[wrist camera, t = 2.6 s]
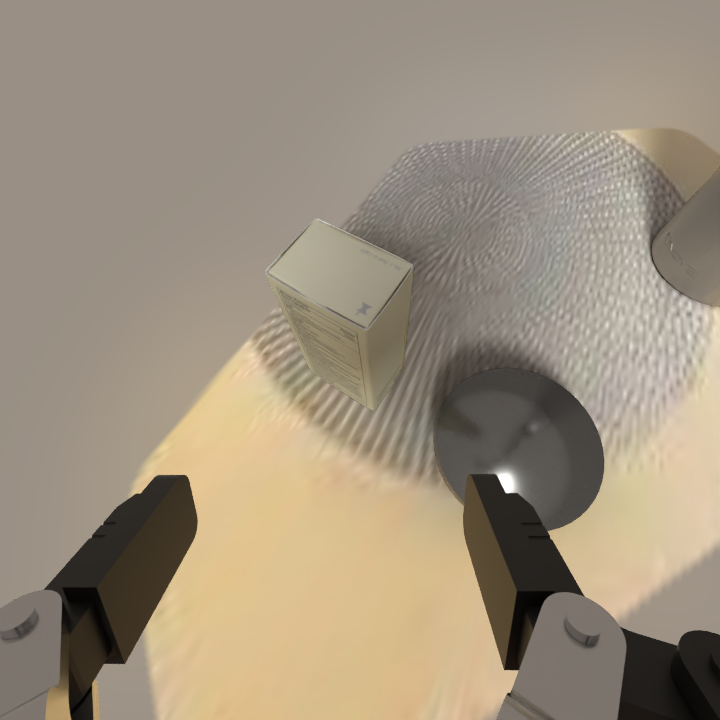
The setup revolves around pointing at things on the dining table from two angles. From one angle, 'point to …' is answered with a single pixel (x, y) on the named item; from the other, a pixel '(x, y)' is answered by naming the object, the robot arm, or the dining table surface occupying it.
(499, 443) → the dark gray bowl
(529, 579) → the robot arm
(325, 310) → the skincare box
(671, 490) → the dining table surface
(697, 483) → the dining table surface
